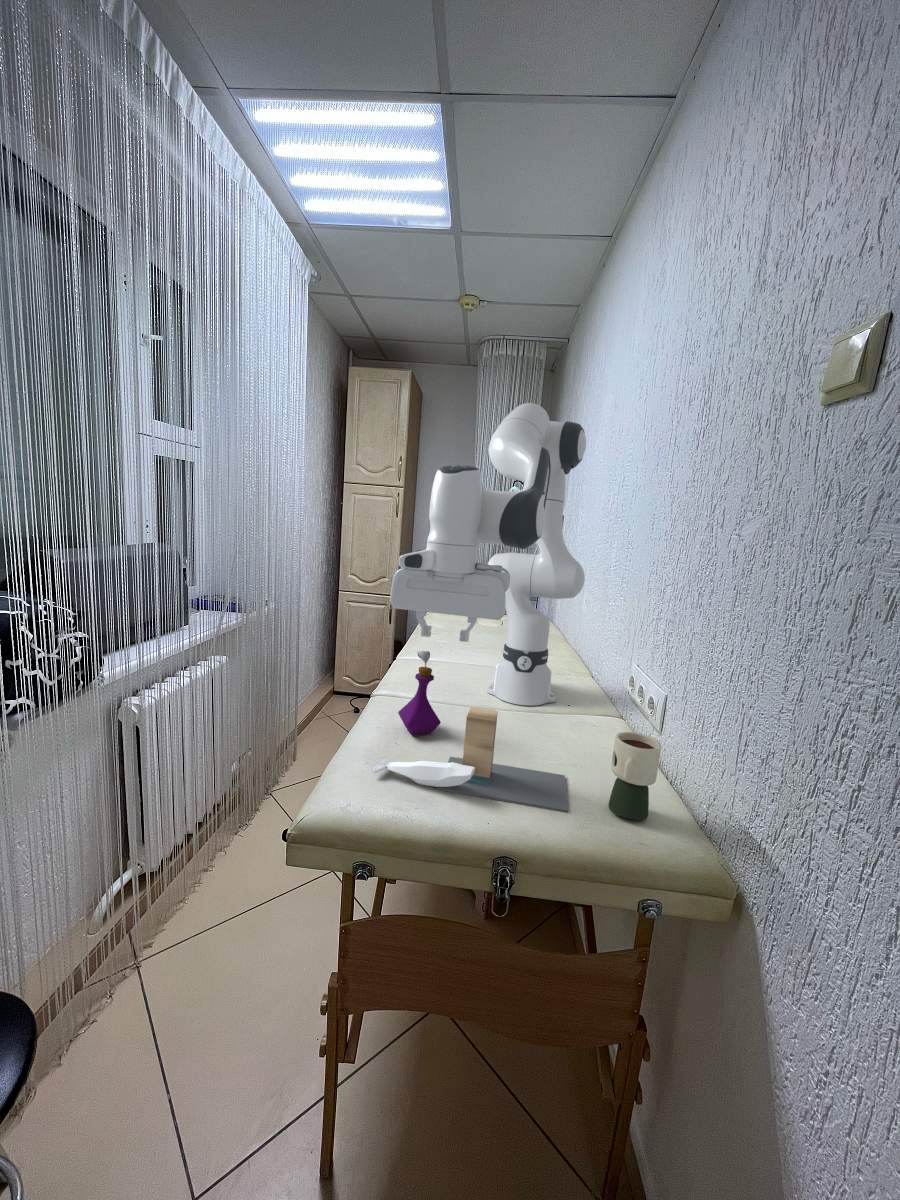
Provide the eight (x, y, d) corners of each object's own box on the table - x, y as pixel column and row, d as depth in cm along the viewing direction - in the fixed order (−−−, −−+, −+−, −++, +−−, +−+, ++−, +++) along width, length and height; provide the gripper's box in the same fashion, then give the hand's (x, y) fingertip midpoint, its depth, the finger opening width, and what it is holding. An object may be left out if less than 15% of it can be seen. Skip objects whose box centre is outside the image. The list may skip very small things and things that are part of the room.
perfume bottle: (440, 737, 107) (446, 656, 104) (406, 740, 104) (412, 657, 101) (428, 723, 114) (434, 646, 111) (396, 725, 111) (402, 647, 108)
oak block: (465, 767, 94) (470, 707, 92) (491, 772, 93) (497, 710, 91) (460, 780, 89) (466, 716, 87) (488, 785, 88) (495, 721, 86)
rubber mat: (450, 758, 98) (450, 756, 98) (564, 777, 94) (564, 775, 94) (437, 789, 86) (437, 787, 86) (567, 812, 82) (567, 810, 82)
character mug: (614, 792, 90) (624, 724, 88) (656, 807, 86) (667, 736, 84) (596, 819, 81) (606, 744, 79) (642, 837, 77) (654, 758, 75)
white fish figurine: (469, 797, 82) (468, 775, 82) (371, 782, 88) (370, 761, 87) (478, 782, 87) (477, 760, 87) (385, 768, 93) (384, 748, 93)
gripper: (512, 565, 87) (504, 641, 90) (400, 554, 91) (395, 628, 93) (510, 567, 81) (501, 650, 83) (389, 556, 85) (384, 635, 87)
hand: (444, 638), depth 88 cm, fingers open, 5 cm apart
